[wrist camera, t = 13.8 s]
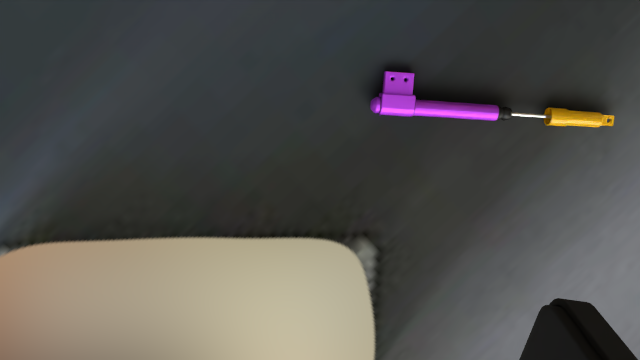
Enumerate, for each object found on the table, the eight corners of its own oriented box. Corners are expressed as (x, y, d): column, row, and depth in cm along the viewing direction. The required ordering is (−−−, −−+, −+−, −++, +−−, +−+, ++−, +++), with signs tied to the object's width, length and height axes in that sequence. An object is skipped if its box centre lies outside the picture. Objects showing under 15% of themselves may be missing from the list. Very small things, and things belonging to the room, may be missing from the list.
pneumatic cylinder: (368, 113, 38) (606, 128, 39) (372, 114, 36) (616, 130, 38) (372, 70, 37) (612, 88, 39) (375, 70, 36) (623, 88, 38)
